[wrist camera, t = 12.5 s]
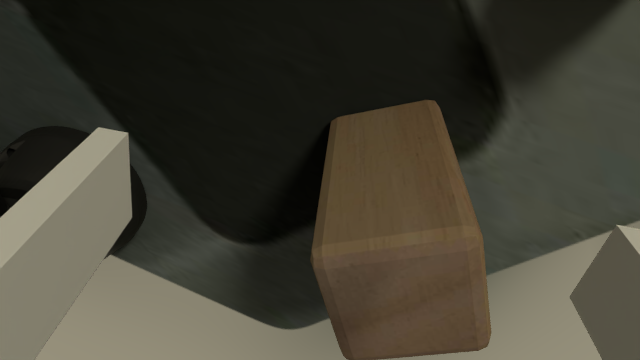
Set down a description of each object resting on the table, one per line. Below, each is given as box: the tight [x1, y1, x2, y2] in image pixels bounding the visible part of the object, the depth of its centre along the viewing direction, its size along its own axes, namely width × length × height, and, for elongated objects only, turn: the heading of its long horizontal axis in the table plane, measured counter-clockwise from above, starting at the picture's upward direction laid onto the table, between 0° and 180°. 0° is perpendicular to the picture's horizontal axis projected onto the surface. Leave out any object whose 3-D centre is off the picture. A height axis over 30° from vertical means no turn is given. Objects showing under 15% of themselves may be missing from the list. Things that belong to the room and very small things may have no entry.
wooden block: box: [310, 100, 491, 360], centre depth 37 cm, size 10×10×20 cm
